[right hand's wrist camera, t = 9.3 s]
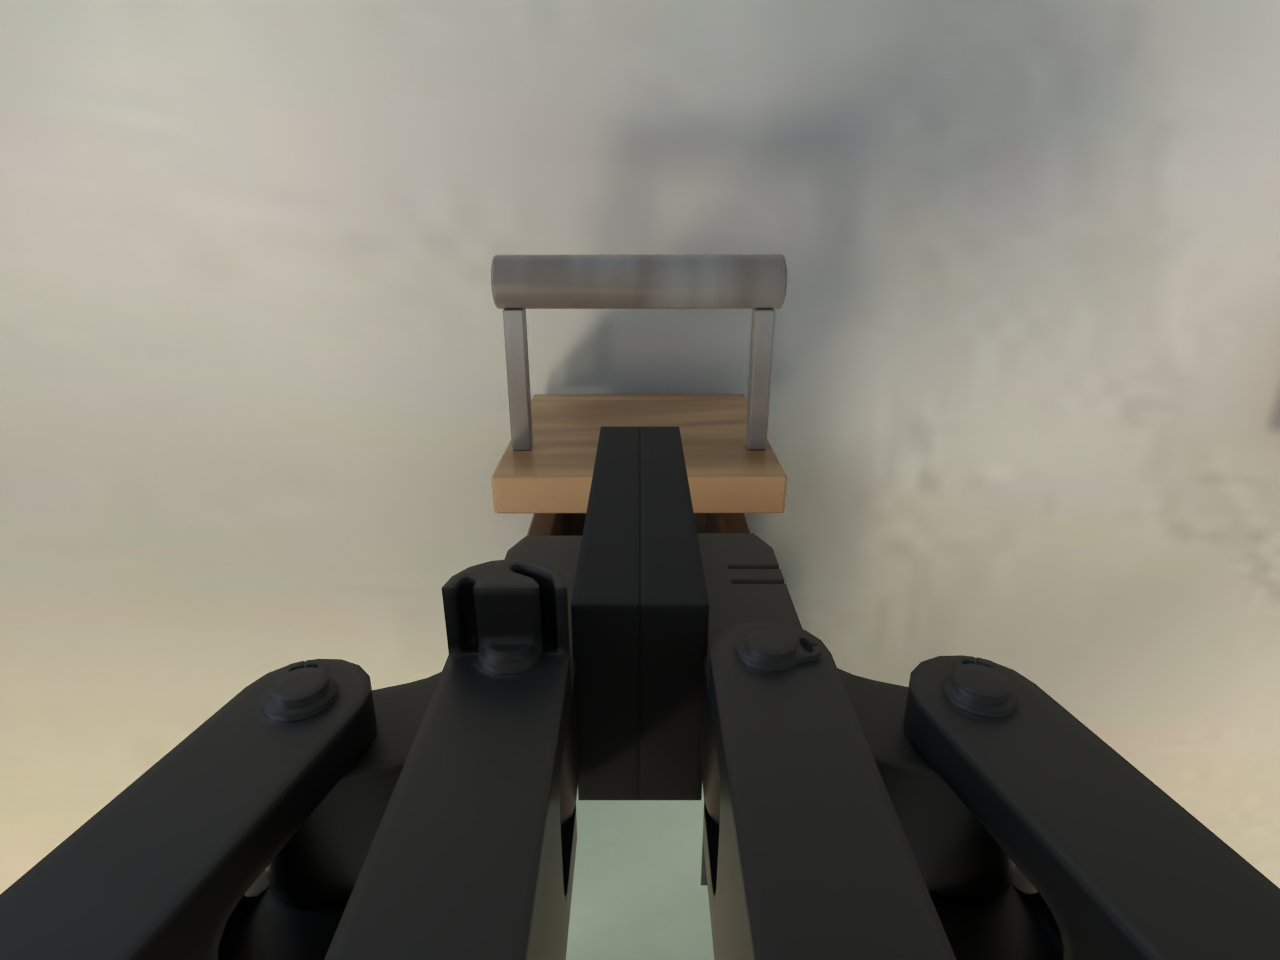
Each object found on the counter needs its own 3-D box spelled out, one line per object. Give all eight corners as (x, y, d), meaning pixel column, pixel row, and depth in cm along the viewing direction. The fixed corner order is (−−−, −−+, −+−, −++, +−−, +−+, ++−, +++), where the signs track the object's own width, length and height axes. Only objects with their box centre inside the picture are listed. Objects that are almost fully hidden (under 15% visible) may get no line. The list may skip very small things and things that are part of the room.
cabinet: (532, 558, 34) (485, 721, 23) (745, 558, 34) (793, 720, 24) (551, 870, 41) (521, 1100, 31) (727, 870, 41) (757, 1099, 31)
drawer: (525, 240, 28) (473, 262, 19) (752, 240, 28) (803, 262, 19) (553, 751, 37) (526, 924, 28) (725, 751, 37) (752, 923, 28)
